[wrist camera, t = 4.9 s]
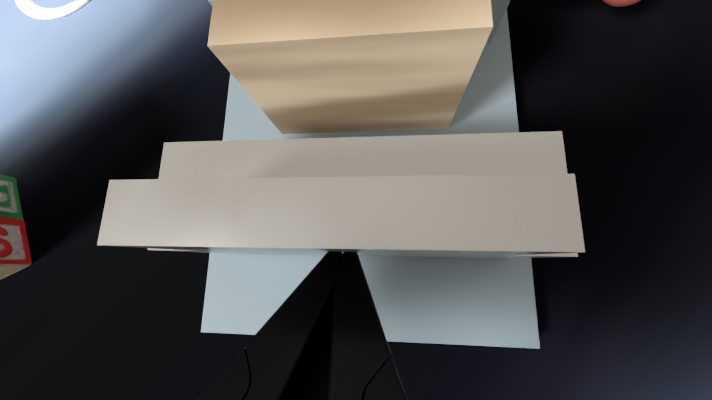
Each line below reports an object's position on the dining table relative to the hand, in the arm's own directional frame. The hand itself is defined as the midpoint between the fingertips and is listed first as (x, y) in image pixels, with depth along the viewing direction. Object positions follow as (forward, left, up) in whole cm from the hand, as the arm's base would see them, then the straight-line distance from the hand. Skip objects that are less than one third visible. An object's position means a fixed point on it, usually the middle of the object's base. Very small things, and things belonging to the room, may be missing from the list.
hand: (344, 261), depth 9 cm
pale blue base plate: (+6, -3, -7) cm, 10 cm away
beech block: (+9, 0, -6) cm, 11 cm away
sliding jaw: (+2, 0, -6) cm, 6 cm away
